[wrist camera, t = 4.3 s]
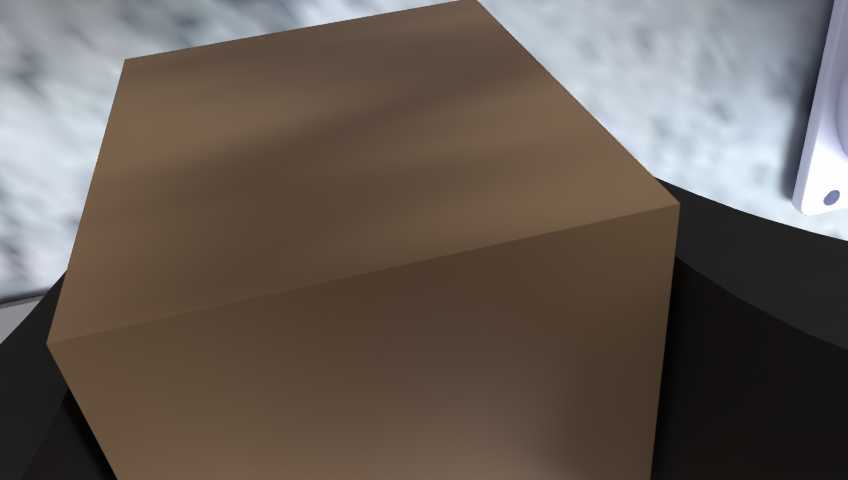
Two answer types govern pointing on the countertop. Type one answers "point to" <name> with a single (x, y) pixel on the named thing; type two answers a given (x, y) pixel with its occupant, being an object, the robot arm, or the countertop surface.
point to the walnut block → (366, 264)
